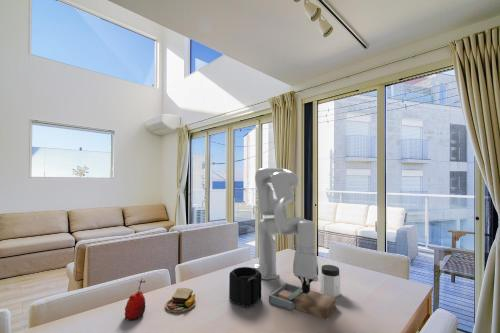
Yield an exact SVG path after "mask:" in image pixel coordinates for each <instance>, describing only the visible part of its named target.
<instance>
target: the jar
mask: <svg viewBox="0 0 500 333" xmlns="http://www.w3.org/2000/svg"><path fill="white" fill-rule="evenodd" d="M320 293H321V294H325V295H328V296H331V297H335V298H336V297H340V296H341V275H340V268H339V267H338V266H336V265H333V264H324V265H322V266H321V270H320Z"/></svg>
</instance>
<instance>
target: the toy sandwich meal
mask: <svg viewBox="0 0 500 333" xmlns="http://www.w3.org/2000/svg"><path fill="white" fill-rule="evenodd" d="M195 305H196V294H195V293H193V289H191V288H189V287H188V288H187V287H179V288H176V290H175V292H174V294H173V295H172V296H171V299H169V300H168V301H166V302H165V304H164V307H165V309H166V310H167V311H169V312H170V313H176V314H178V313H180V314H181V313H184V312H188V311H189V310H192V309H193V307H195Z"/></svg>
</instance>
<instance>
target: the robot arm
mask: <svg viewBox="0 0 500 333" xmlns="http://www.w3.org/2000/svg"><path fill="white" fill-rule="evenodd" d="M254 180H255V185H256V188H257V193H258V194H257V196H258V209H259V214H260V215H261V216H265V217H264V218H261V219H260V220H258V223H257V231H258V242H259V243H258V248H259V250H258V251H259V252H258V254H259V255H258V261H259V262H258V264H254V266H253V268H254V269H257V270H258V271H259V272H260V273H261V275H262V276H261V280H266V281H267V280H268V281H272V280H276V279H277V278H279V277H280V276H279V275H280V273H279V272H278V270H277V241H275V238H274V237H273V236H277V235H278V236H279V235H283V236H290V235H296V244H294V246H293V247H294V248H295V249H296V250H295V251H294V257H293V263H292V264H293V265H292V272H293V275H294V277H296V278H298V279H299V282H300V283H301V287H302V290H303V293H305V294H307V293H308V292H309V291H310V290H311V283H312V282H318V281H319V277H318V276H319V261H318V256H317V253H316V248H315V246H316V245H315V244H316V242H315V240H316V239H315V238H316V237H315V235H316V234H315V232H316V231H315V229H316V228H315V223H314V221H312V220H310V219H309V220H307V219H305V218H304V217H288V210H287V208H288V207H287V205H288V204H291V203H292V202H293V200H294V199H295V195H294V191H293V190H292V188H296V187H297V186H298V183H299V179H298V176H297V174H296V173H295V172H294V171H291V170H288V169H285V168H281V167H262V168H259V169H257V170H256V172H255V176H254ZM270 183H271V185H270ZM271 186H272V187H271ZM274 195H275V196H276V198H275V197H274ZM269 216H272V217H269ZM273 216H274V217H273ZM266 217H267V218H266Z"/></svg>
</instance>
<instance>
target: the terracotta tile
mask: <svg viewBox="0 0 500 333" xmlns="http://www.w3.org/2000/svg"><path fill="white" fill-rule="evenodd" d="M291 294H292V292H289V291H286V290H282V291H281V292H280V293H278V298H281V299H284V300H287V301H288V300H289V298H288V296H289V295H291Z"/></svg>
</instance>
